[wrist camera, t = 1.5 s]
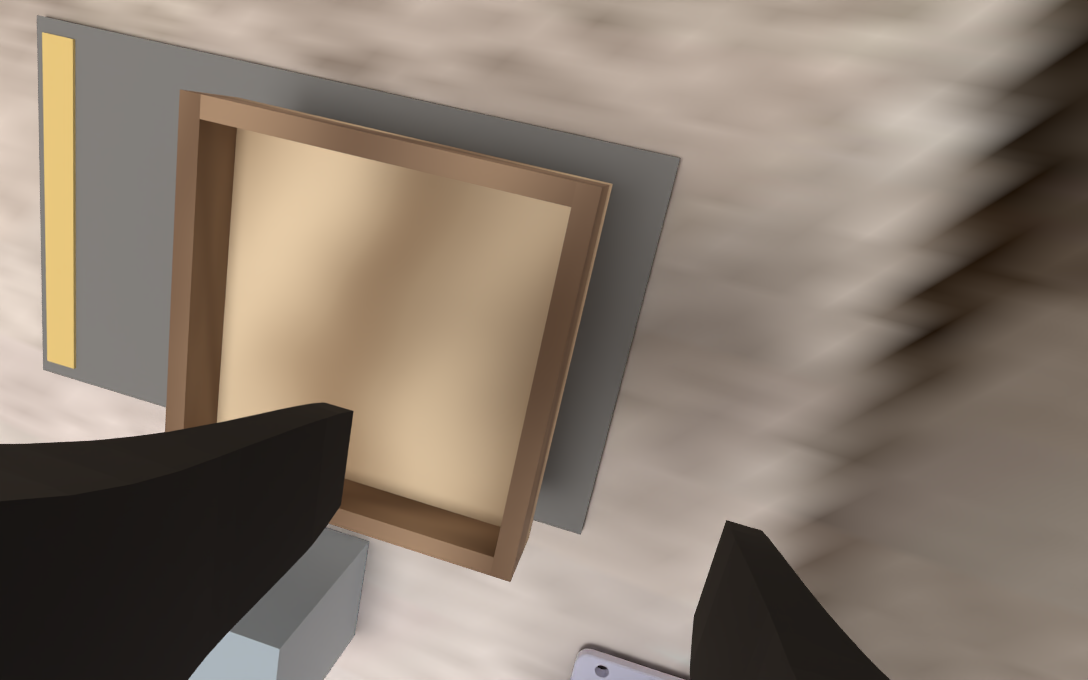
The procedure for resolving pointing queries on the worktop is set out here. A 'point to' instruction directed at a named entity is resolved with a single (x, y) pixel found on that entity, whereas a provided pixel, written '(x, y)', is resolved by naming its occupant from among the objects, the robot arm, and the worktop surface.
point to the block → (297, 618)
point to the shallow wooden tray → (382, 311)
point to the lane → (162, 70)
